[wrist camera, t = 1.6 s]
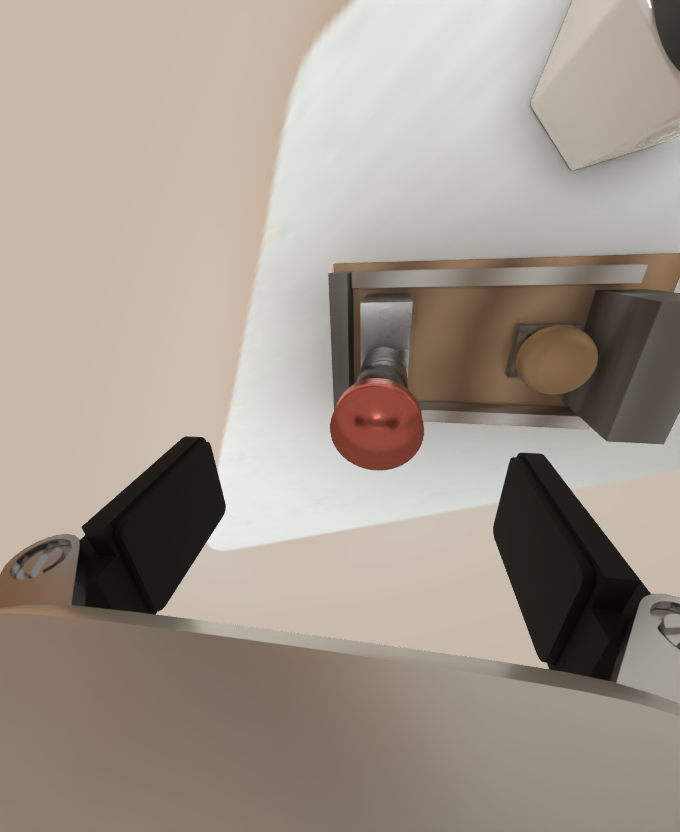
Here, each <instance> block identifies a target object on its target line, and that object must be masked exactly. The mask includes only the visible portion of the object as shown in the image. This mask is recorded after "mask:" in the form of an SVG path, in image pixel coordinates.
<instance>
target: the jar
mask: <svg viewBox="0 0 680 832" xmlns="http://www.w3.org/2000/svg"><path fill="white" fill-rule="evenodd" d="M531 107H532V109H533V110H534V112H535V113H536V115H537V117H538V118H539V120H540V121H541V123H542V125H543V126H544V128H545V129H546V131H547V133H548V134H549V136H550V137H551V139H552V141H553V142H554V144H555V145H556V147H557V148H558V150H559V152H560V153H561V155H562V156H563V158H564V160H565V161H566V163H567V164H568V166H569V168H570V169H571V170H577V169H580V168H583V167H586V166H590V165H593V164H596V163H599V162H603V161H606V160H609V159H612V158H615V157H619V156H622V155H625V154H628V153H632V152H635V151H638V150H641V149H644V148H648V147H651V146H654V145H657V144H660V143H663V142H665V141H667V140H670V139H672V138H674V137H677V136H679V135H680V0H572V3H571V5H570V8H569V10H568V13H567V15H566V17H565V20H564V22H563V25H562V27H561V30H560V32H559V34H558V37H557V39H556V42H555V44H554V46H553V49H552V51H551V54H550V56H549V59H548V61H547V63H546V66H545V68H544V71H543V73H542V75H541V78H540V80H539V83H538V85H537V87H536V90H535V92H534V95H533V97H532V99H531Z"/></svg>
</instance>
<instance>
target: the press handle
mask: <svg viewBox="0 0 680 832" xmlns="http://www.w3.org/2000/svg"><path fill="white" fill-rule="evenodd" d="M412 306H413V301H412V298H411V295H410V293H384V294H367V295H366V297H365V298H364V299H363V300H362V302H361V303H360V321H361V370H360V373H359V376H358V379H357V382H356V383H355V384H354V385H352V386H351V387H349V388H348V389H347V390H346V391H345V392H344V393H343V394H342V396H341V397H340V399H339V401H338V403H337V406H336V408H335V410H334V413H333V415H332V418H331V423H330V432H331V437H332V441H333V443H334V445H335V447H336V449H337V450H338V451H339V453H340V454H341V455H342V456H343V457H344V458H345V459H347V460H348V461H349V462H351V463H353V464H355V465H357V466H359V467H362V468H365V469H369V470H388V469H393V468H396V467H399V466H401V465H403V464H404V463H406V462H408V461H409V460H410V459H411V458H412V457H413V456H414V455H415V454H416V453H417V451H418V450H419V448H420V446H421V444H422V441H423V436H424V427H423V420H422V413H421V408H420V405H419V403H418V401H417V399H416V397H415V396H414V395H413V394H412V392H411V391H410V390H408V381H407V379H408V365H409V350H410V335H411V321H412Z"/></svg>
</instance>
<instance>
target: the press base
mask: <svg viewBox="0 0 680 832" xmlns="http://www.w3.org/2000/svg"><path fill="white" fill-rule="evenodd" d="M679 278H680V253H674V254H641V255H608V256H575V257H542V258H509V259H476V260H443V261H410V262H377V263H344V264H334V272H333V273H330V274H329V297H330V321H331V345H332V369H333V392H334V410H335V408H336V406H337V403H338V401H339V399H340V397H341V396H342V394H343V393H344V392H345V391H346V390H347V389H348V388H349V387H351V386H352V385H354V384H355V383H356V382H357V379H358V376H359V373H360V370H361V321H360V303H361V302H362V300H363V299H364V298H365V297H366V295H367V294H384V293H410V295H411V298H412V301H413V306H412V321H411V335H410V350H409V365H408V379H407V381H408V390H410V391H411V392H412V394H413V395H414V396H415V397H416V399H417V401H418V403H419V405H420V408H421V413H422V420H423V421H427V422H448V423H469V424H490V425H511V426H532V427H553V428H574V429H588V428H589V426H590V427H591V428H592V429H594V430H595V431H596V432H597V433H598V434H599V435H600V436H601V437H603V438H604V439H605V440H606V441H612V442H631V443H650V444H664V442H665V440H666V438H667V436H668V434H669V432H670V430H671V428H672V426H673V424H674V422H675V420H676V418H677V416H678V414H679V412H680V293H673V292H674V290H675V287H676V285H677V283H678V280H679ZM559 325H563V326H571V327H575V328H578V329H580V330H582V331H583V332H585V333H586V334H588V335H589V336H590V337H591V339H592V340H593V341H594V343H595V345H596V347H597V351H598V362H597V366H596V369H595V371H594V373H593V374H592V376H591V377H590V378H589V379H588V380H587V381H586V382H585V383H584V384H583V385H581V386H580V387H578V388H576V389H574V390H572V391H570V392H567V393H562V394H544V393H540V392H537V391H535V390H533V389H531V388H529V387H528V386H527V385H526V384H525V383H524V382H523V381H522V380H521V378H520V377H519V375H518V372H517V369H516V358H517V354H518V351H519V349H520V347H521V346H522V344H523V343H524V342H525V341H526V339H527V338H529V337H530V336H531V335H532V334H534V333H535V332H537V331H539V330H541V329H544V328H547V327H551V326H559Z"/></svg>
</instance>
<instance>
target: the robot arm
mask: <svg viewBox="0 0 680 832" xmlns="http://www.w3.org/2000/svg"><path fill="white" fill-rule="evenodd" d="M225 508H226V505H225V500H224V496H223V492H222V488H221V484H220V480H219V476H218V472H217V468H216V464H215V460H214V456H213V452H212V448H211V445H210V443H209V442H206V440H205V439H204V438H203V437H184V438H182V439H181V440H180V441H179V442H177V443H176V444H175V445H174V446H173V447H172V448H171V449H170V450H168V451H167V452H166V453H165V454H164V455H163V456H162V457H160V458H159V459H158V460H157V461H156V462H155V463H154V464H152V465H151V466H150V467H149V468H148V469H147V470H146V471H145V472H143V473H142V474H141V475H140V476H139V477H138V478H137V479H135V480H134V481H133V482H132V483H131V484H130V485H129V486H127V487H126V488H125V489H124V490H123V491H122V492H121V493H120V494H118V496H116V497H115V498H114V499H113V500H112V501H110V502H109V503H108V504H107V505H106V506H105V507H104V508H102V509H101V510H100V511H99V512H98V513H97V514H96V515H95V516H93V517H92V518H91V519H90V520H89V521H88V522H87V523H85V524H84V525H83V526H82V529H83V531H84V533H85V536H84V537H83V538H82V539H81V540H79V539H78V538H77V537H76V536H75V535H70V534H62V535H56V536H52V537H48V538H46V539H43V540H41V541H38V542H36V543H34V544H33V545H31V546H29V547H27V548H25V549H24V550H23V551H21V552H20V553H18V554H17V555H16V556H14V557H13V558H12V559H11V560H10V561H9V562H8V563H7V564H6V565H5V567H4V568H3V570H2V572H1V574H0V832H680V598H679V597H674V596H671V595H667V594H651V593H650V592H649V591H648V590H647V588H646V587H645V586H644V584H643V583H642V582H641V580H640V579H639V578H638V576H637V575H636V574H635V573H634V571H633V570H632V569H631V567H630V566H629V565H628V563H627V562H626V561H625V560H624V558H623V557H622V556H621V555H620V553H619V552H618V551H617V549H616V548H615V547H614V545H613V544H612V543H611V542H610V540H609V539H608V537H607V536H606V535H605V534H604V532H603V531H602V530H601V528H600V527H599V526H598V524H597V523H596V522H595V521H594V519H593V518H592V517H591V516H590V514H589V513H588V511H587V510H586V509H585V508H584V507H583V505H582V504H581V503H580V501H579V500H578V499H577V498H576V496H575V495H574V494H573V492H572V491H571V490H570V488H569V487H568V486H567V484H566V483H565V482H564V481H563V479H562V478H561V477H560V475H559V474H558V473H557V471H556V470H555V469H554V468H553V466H552V465H551V464H550V462H549V461H548V460H547V458H546V457H545V456H544V455H543V454H536V453H519V454H518V455H517V457H513V458H511V459H510V462H509V466H508V470H507V474H506V478H505V482H504V486H503V490H502V494H501V498H500V502H499V506H498V510H497V514H496V518H495V522H494V526H493V533H494V538H495V541H496V544H497V547H498V549H499V552H500V555H501V558H502V560H503V563H504V566H505V569H506V571H507V574H508V576H509V579H510V582H511V585H512V587H513V590H514V593H515V595H516V599H517V601H518V604H519V607H520V609H521V612H522V615H523V617H524V620H525V623H526V626H527V628H528V631H529V634H530V636H531V639H532V642H533V645H534V648H535V650H536V653H537V655H538V657H539V659H540V660H541V661H542V662H546V663H547V664H548V667H549V669H550V670H549V669H543V668H537V667H530V666H523V665H518V664H511V663H505V662H499V661H492V660H486V659H479V658H472V657H465V656H457V655H450V654H444V653H436V652H430V651H423V650H415V649H408V648H401V647H393V646H387V645H380V644H373V643H365V642H358V641H350V640H343V639H336V638H329V637H321V636H314V635H306V634H299V633H292V632H284V631H277V630H269V629H262V628H255V627H247V626H240V625H232V624H224V623H217V622H208V621H201V620H193V619H185V618H177V617H170V616H162V615H155V614H156V613H157V611H160V610H162V609H163V608H164V607H165V606H166V604H167V603H168V601H169V599H170V598H171V596H172V595H173V593H174V592H175V590H176V589H177V587H178V585H179V584H180V582H181V581H182V579H183V578H184V576H185V574H186V573H187V571H188V570H189V568H190V567H191V565H192V564H193V562H194V561H195V559H196V557H197V556H198V554H199V553H200V551H201V550H202V548H203V547H204V545H205V543H206V542H207V540H208V539H209V537H210V536H211V534H212V533H213V531H214V529H215V528H216V526H217V525H218V523H219V522H220V520H221V518H222V517H223V515H224V513H225Z"/></svg>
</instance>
